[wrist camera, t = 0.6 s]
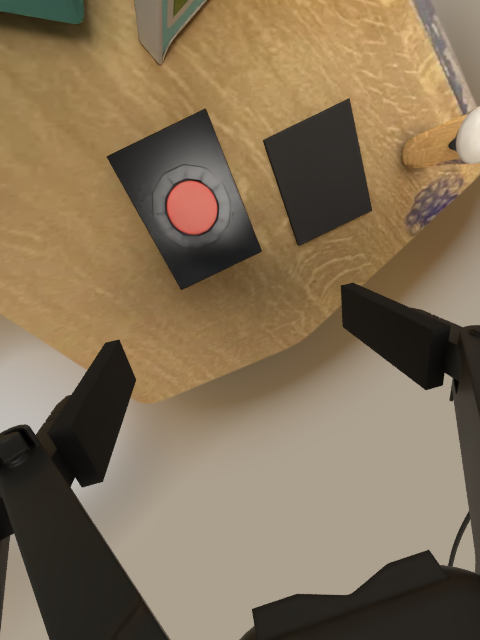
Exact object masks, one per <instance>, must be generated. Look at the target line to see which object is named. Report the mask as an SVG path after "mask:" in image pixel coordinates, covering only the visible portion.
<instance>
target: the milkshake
mask: <svg viewBox="0 0 480 640" xmlns="http://www.w3.org/2000/svg"><path fill="white" fill-rule="evenodd" d="M402 159H403V162H404V165H406V166H408V167H410V168H419V167H430V166H441V165H457V164H475V163H479V162H480V106H479V107H477V108H475V109H473V110H471V111H469V112H467V113H465V114H463V115H461V116H459V117H457V118H455V119H452V120H450V121H448V122H446V123H444V124H442V125H440V126H437V127H435V128H433V129H430V130H428V131H426V132H424V133H421V134H419V135H417V136H414V137H412V138H410V139H409V141H408V142H407V143H406V144H405V146H404V148H403V153H402Z"/></svg>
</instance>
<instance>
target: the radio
mask: <svg viewBox="0 0 480 640" xmlns="http://www.w3.org/2000/svg"><path fill="white" fill-rule="evenodd" d="M0 11H2V12H8V13H13V14H19V15H25V16H30V17H36V18H42V19H48V20H53V21H59V22H65V23H70V24H80V23H82V21H83V19H84V2H83V0H0Z"/></svg>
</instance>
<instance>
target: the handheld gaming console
mask: <svg viewBox="0 0 480 640" xmlns="http://www.w3.org/2000/svg"><path fill="white" fill-rule="evenodd" d="M206 1H207V0H134V3H135V11H136V20H137V28H138V36H139V41H140V42H141V43H142V45H143V46H144V47H145V48H146V49H147V51H148V52H149V53H150V54H151V55H152V57H153V58H154V59H155V60H156V61H157V63H158V64H159V65H161V64H162V63H163V61H164V58H165V54H166V52H167V49H168V48H169V46H170V44H171V42H172V41H173V40H174V38H175V37H176V36H177V35H178V34H179V32H180V31H181V30H182V29H183V28H184V27H185V25H186V24H187V23H188V22H189V21H190V20H191V18H192V17H193V16H194V15H195V14H196V13H197V11H198V10H199V9H200V8H201V7H202V6H203V5H204V3H205V2H206Z"/></svg>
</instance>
